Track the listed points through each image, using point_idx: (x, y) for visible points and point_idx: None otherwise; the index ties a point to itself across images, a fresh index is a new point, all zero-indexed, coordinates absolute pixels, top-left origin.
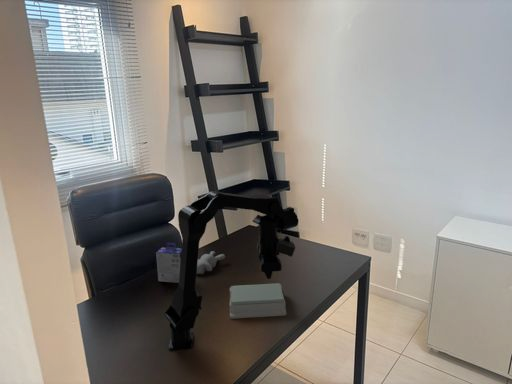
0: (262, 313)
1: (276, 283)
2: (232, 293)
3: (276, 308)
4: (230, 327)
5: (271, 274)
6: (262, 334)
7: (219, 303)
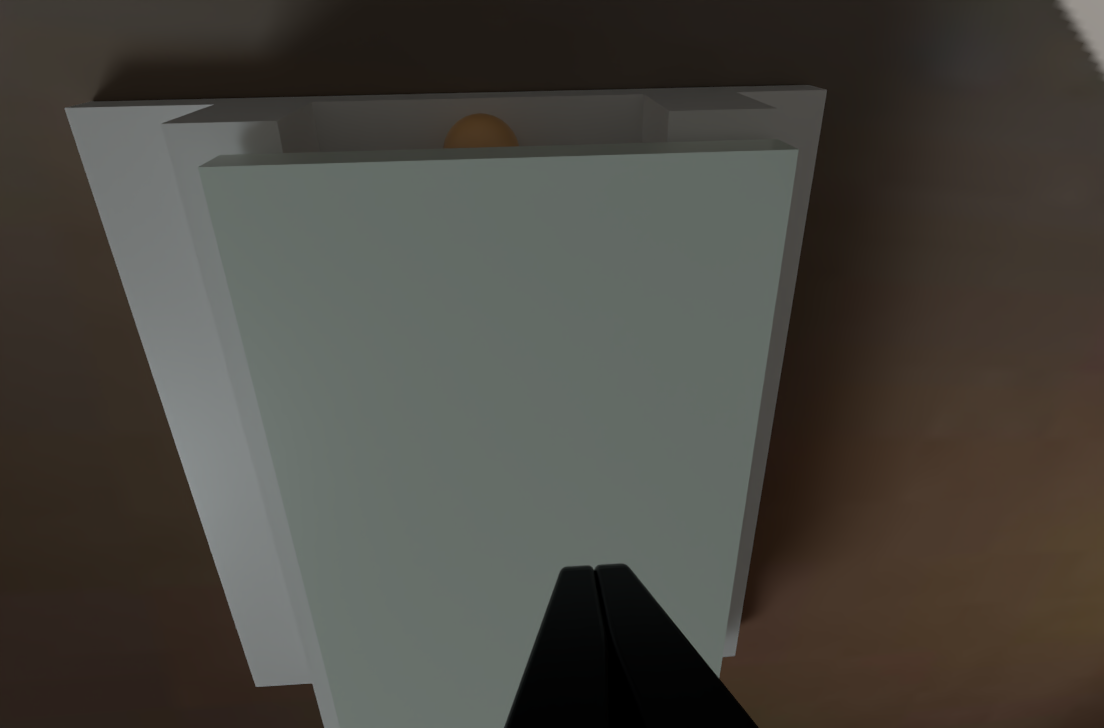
0: (768, 394)
1: (216, 238)
2: None
3: None
4: (850, 620)
5: (707, 668)
6: (1054, 384)
7: None
